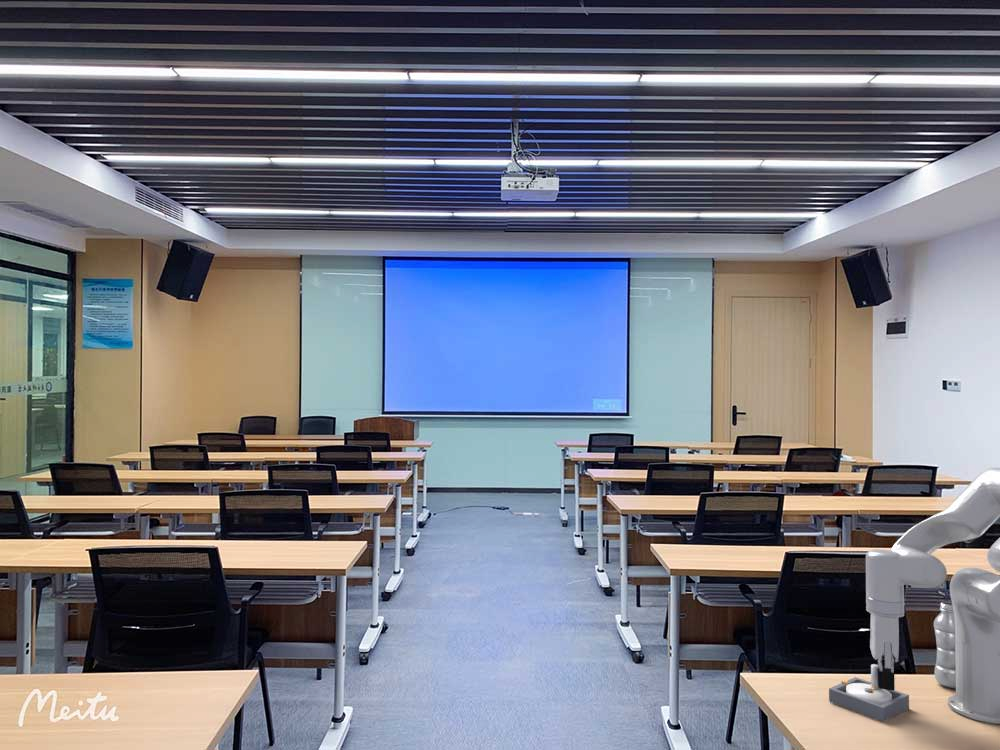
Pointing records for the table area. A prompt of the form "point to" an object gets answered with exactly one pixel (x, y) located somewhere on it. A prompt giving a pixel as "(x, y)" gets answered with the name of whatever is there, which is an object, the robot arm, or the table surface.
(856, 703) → the housing
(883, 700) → the white crank wheel
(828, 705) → the table surface
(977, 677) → the robot arm
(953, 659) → the plastic bottle
